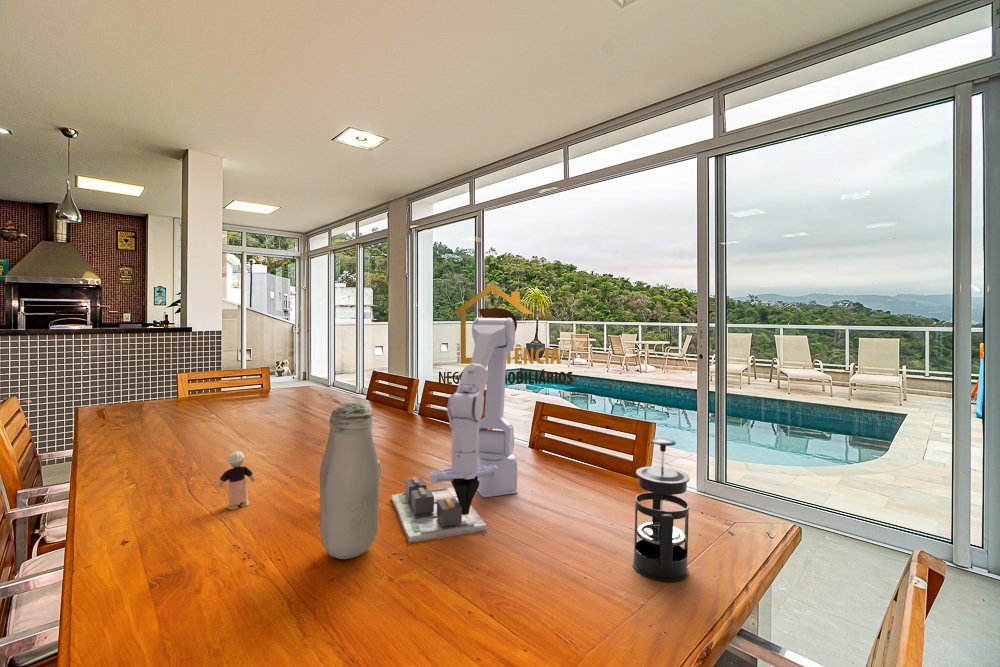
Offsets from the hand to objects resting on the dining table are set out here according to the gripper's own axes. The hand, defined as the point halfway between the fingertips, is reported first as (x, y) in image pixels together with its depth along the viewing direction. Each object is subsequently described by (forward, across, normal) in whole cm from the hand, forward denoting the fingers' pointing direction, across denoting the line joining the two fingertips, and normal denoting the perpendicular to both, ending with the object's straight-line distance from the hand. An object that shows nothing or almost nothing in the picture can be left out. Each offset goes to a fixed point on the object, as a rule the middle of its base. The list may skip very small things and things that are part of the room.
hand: (464, 512), depth 99 cm
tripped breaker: (+1, -3, 0) cm, 3 cm away
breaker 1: (+1, -7, +15) cm, 17 cm away
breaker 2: (+1, -7, +8) cm, 11 cm away
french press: (+3, +28, -28) cm, 40 cm away
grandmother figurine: (+3, -46, +27) cm, 54 cm away
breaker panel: (+3, -4, +8) cm, 9 cm away
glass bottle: (+3, -23, -4) cm, 24 cm away
